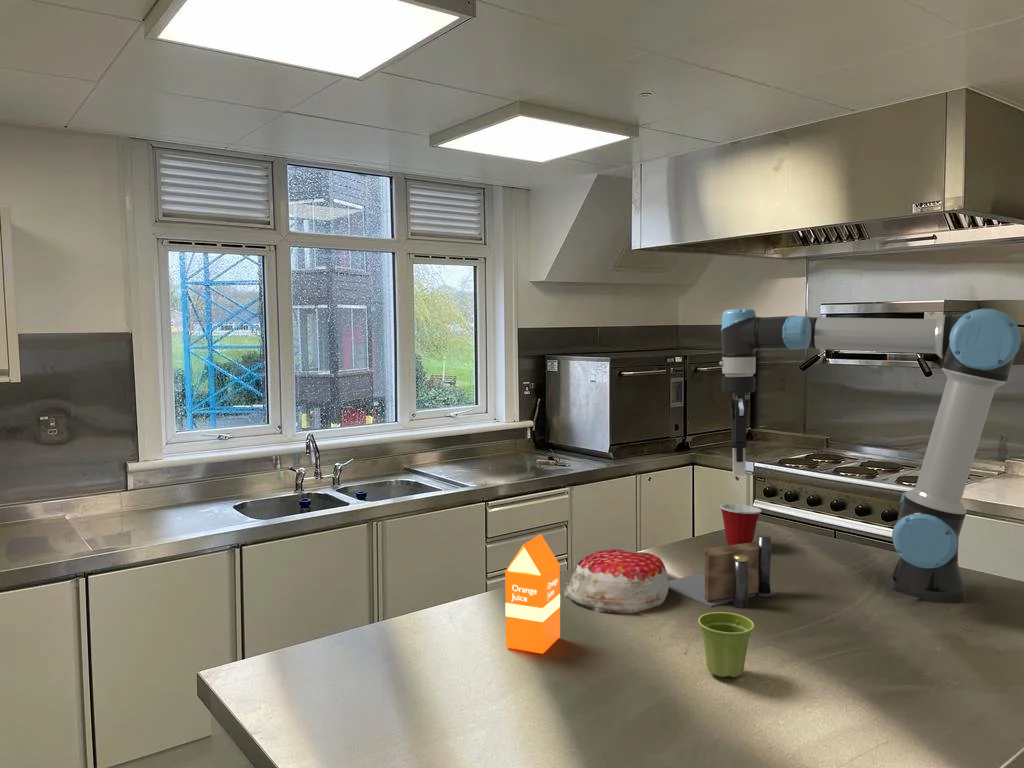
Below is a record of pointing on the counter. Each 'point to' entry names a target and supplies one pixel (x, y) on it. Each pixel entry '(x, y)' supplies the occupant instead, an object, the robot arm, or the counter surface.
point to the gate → (729, 569)
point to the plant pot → (725, 642)
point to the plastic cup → (739, 523)
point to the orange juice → (533, 598)
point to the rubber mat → (696, 589)
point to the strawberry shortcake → (618, 582)
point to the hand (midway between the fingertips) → (739, 474)
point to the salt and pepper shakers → (763, 574)
